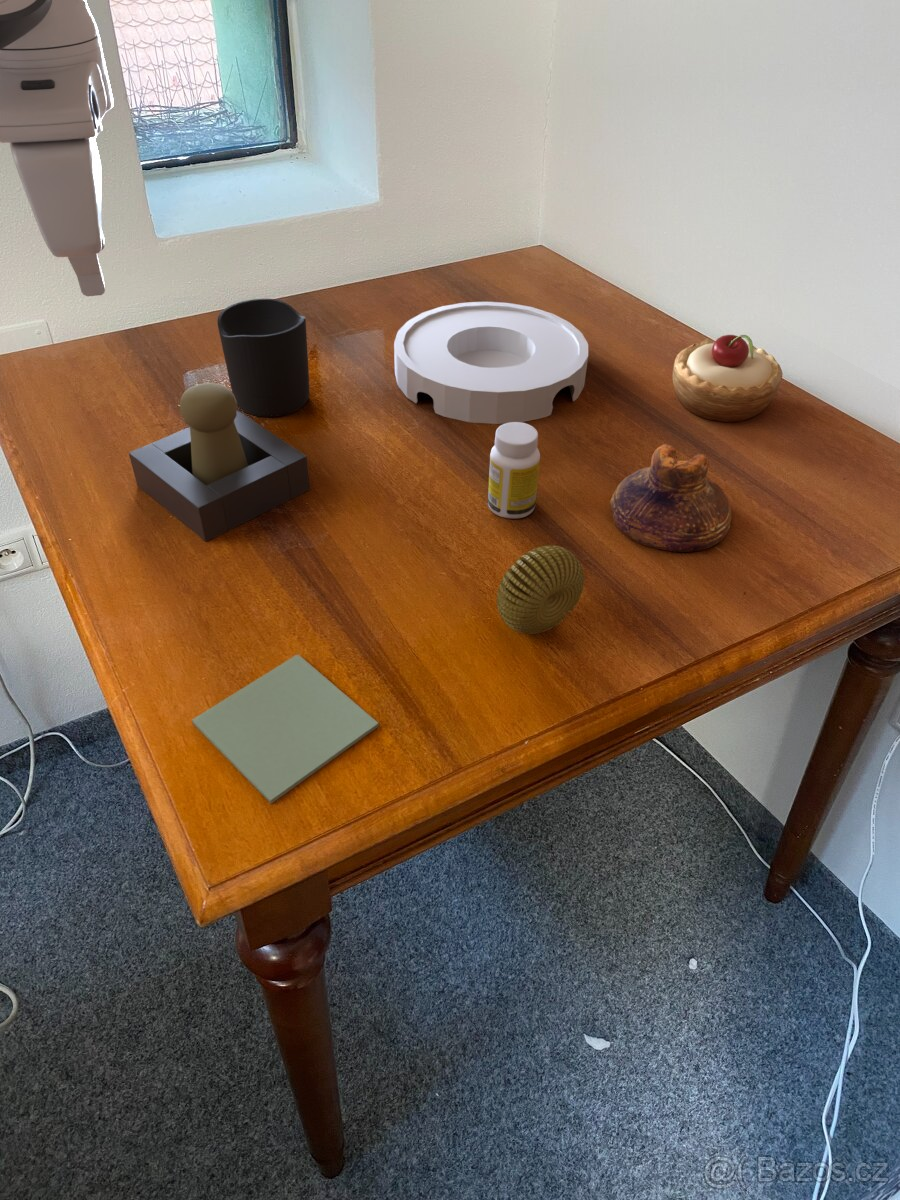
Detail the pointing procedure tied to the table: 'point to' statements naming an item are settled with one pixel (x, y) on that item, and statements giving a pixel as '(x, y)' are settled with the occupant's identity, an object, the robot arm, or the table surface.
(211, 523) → the holder stand
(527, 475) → the supplement bottle
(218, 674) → the table surface
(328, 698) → the mat
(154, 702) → the table surface
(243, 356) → the pen holder
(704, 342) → the pastry
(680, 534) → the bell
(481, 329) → the ashtray
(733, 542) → the table surface
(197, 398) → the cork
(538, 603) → the sculpture
